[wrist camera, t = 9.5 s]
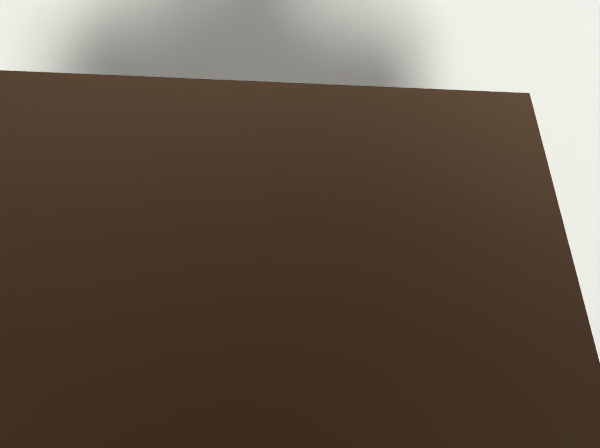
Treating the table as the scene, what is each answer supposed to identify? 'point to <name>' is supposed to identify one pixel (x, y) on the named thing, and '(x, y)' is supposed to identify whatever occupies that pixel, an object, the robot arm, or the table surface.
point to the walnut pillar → (283, 269)
